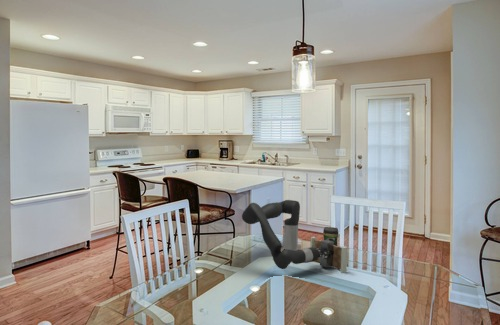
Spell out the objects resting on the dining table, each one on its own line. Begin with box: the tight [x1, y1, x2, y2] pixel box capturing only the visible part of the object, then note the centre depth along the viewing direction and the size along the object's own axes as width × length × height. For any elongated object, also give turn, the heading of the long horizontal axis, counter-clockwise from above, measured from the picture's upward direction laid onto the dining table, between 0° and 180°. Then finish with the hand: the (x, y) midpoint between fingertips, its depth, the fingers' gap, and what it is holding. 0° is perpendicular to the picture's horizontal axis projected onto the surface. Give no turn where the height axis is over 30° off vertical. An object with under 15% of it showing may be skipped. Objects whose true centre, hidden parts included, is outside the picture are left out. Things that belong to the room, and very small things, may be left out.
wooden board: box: [309, 236, 348, 274], centre depth 192 cm, size 25×3×14 cm, turn 34°
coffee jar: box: [322, 226, 339, 246], centre depth 210 cm, size 10×8×19 cm
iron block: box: [319, 239, 334, 268], centre depth 189 cm, size 5×5×14 cm
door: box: [314, 239, 342, 271], centre depth 192 cm, size 21×1×12 cm, turn 36°
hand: (329, 251), depth 190 cm, fingers closed on iron block, 5 cm apart
